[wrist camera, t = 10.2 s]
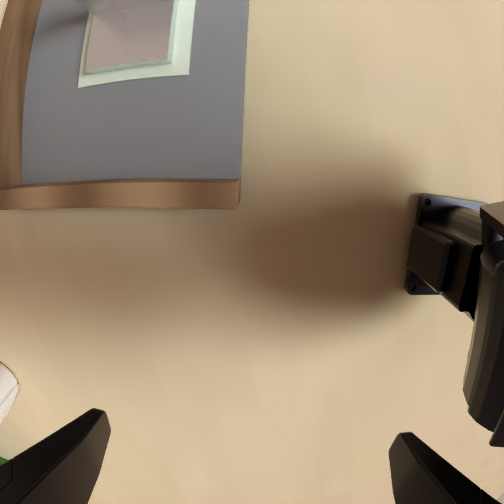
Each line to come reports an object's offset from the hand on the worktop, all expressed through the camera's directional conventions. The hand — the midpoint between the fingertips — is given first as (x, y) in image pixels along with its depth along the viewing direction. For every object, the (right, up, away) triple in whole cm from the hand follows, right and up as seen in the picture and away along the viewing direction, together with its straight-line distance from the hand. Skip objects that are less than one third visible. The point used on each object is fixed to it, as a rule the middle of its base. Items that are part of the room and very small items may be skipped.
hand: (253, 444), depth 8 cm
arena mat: (-8, +17, +7) cm, 21 cm away
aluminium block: (-7, +18, +6) cm, 20 cm away
